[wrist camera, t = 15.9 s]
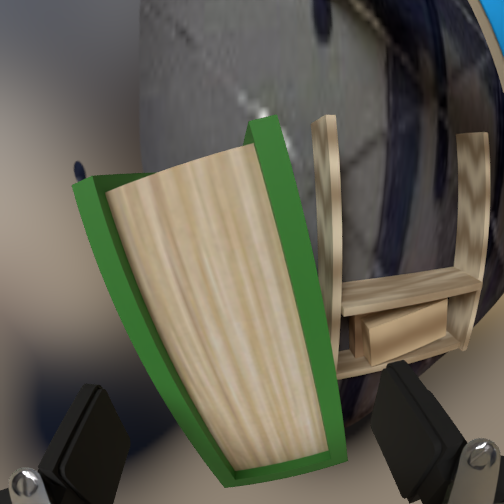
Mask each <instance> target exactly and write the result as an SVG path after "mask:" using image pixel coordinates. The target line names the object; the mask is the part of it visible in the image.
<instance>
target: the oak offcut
mask: <svg viewBox="0 0 504 504" xmlns="http://www.w3.org/2000/svg"><path fill="white" fill-rule="evenodd" d="M447 306H448V298H443V299H438V300H433V301H429V302H424V303H419V304H414V305H409V306H404V307H398V308H393V309H387V310H382V311H379V312H377V313H374V314H371V315H368V316H365V317H362V318H360V319H361V329H362V340H363V352H364V356H365V357H366V359H367V360H368V362H369V363H370V365H371V367H372V366H375V365H378V364H380V363H383V362H385V361H388V360H391V359H393V358H396V357H398V356H401V355H403V354H406V353H408V352H410V351H413V350H415V349H417V348H420V347H422V346H424V345H427V344H429V343H431V342H433V341H435V340H437V339H440V338H442V337H444V336H446V325H447Z"/></svg>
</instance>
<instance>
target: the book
mask: <svg viewBox="0 0 504 504" xmlns="http://www.w3.org/2000/svg"><path fill="white" fill-rule="evenodd" d="M468 2H469V3H470V5H471V7H472V10H473V12H474V14H475V16H476V18H477V20H478V22H479V25H480V27H481V29H482V31H483V34H484V36H485V39H486V41H487V44H488V46H489V49H490V52H491V54H492V57H493V60H494V63H495V66H496V69H497V72H498V75H499V78H500V82H501V85H502V88H503V92H504V0H468Z"/></svg>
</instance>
